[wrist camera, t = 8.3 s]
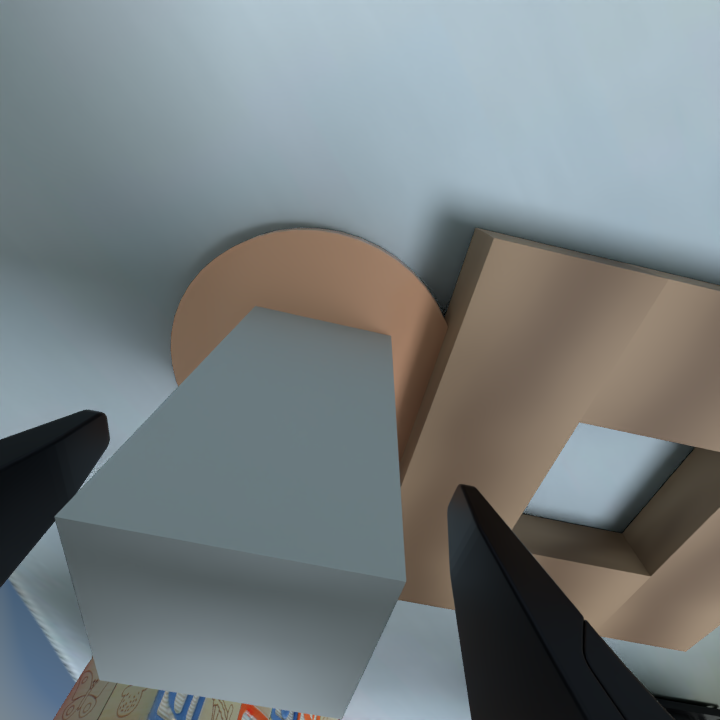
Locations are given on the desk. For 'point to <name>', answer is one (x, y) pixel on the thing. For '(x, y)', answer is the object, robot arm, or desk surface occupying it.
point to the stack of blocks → (156, 704)
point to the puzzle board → (560, 418)
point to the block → (250, 523)
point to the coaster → (316, 303)
